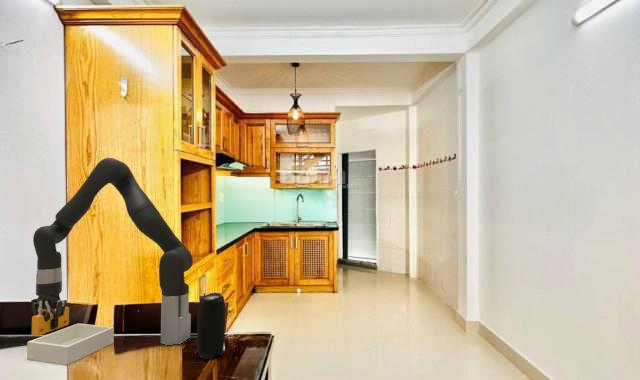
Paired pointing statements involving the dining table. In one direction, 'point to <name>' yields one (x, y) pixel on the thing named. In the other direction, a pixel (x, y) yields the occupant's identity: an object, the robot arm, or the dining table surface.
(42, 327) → the pipe clamp
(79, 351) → the walled box
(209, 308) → the portable speaker
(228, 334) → the dining table surface
